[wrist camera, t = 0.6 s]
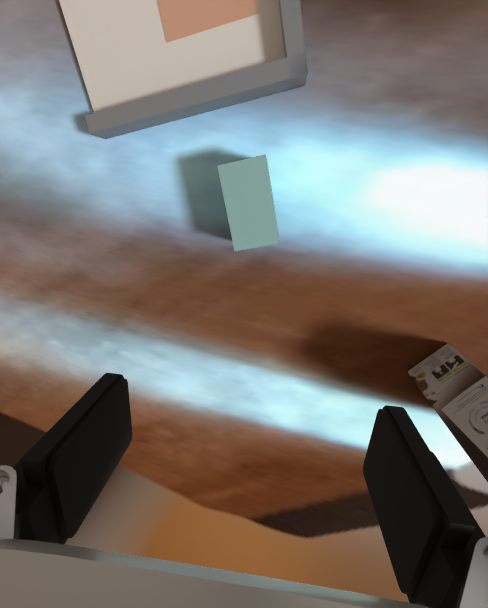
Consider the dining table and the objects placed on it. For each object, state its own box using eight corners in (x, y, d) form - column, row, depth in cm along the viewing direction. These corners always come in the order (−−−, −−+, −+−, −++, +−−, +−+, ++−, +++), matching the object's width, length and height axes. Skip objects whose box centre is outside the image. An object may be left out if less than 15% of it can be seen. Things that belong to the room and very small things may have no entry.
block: (267, 162, 32) (265, 154, 26) (278, 236, 34) (279, 243, 29) (227, 171, 32) (217, 165, 27) (241, 243, 35) (234, 251, 29)
